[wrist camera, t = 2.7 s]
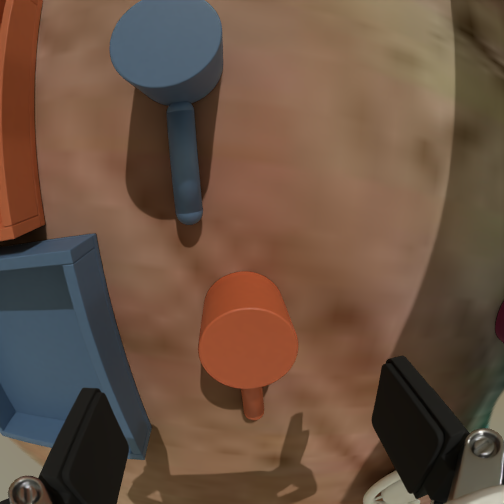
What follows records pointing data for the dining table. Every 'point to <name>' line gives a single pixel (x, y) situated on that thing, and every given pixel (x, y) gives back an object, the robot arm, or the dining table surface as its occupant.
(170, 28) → the blue handled cylinder
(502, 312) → the cup
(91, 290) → the slate bin
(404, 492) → the ring around a ball
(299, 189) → the dining table surface
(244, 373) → the orange toy mallet
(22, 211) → the terracotta bin
